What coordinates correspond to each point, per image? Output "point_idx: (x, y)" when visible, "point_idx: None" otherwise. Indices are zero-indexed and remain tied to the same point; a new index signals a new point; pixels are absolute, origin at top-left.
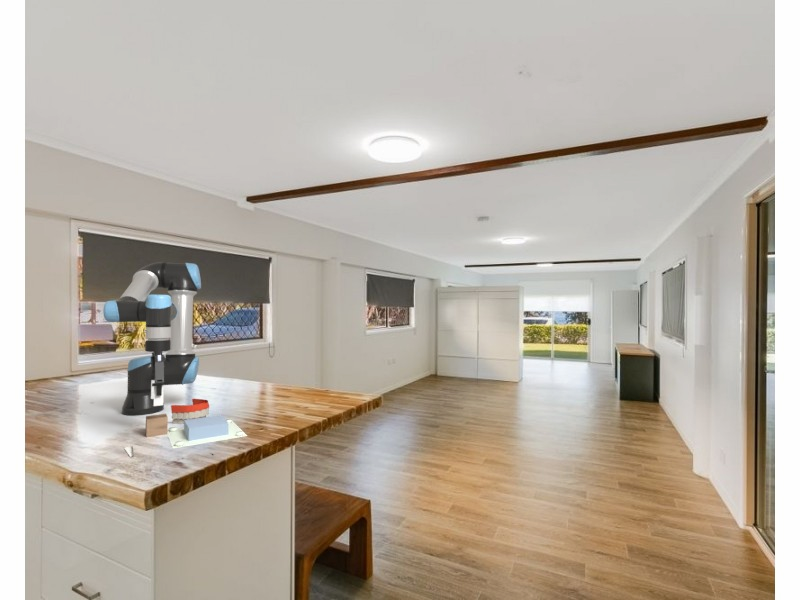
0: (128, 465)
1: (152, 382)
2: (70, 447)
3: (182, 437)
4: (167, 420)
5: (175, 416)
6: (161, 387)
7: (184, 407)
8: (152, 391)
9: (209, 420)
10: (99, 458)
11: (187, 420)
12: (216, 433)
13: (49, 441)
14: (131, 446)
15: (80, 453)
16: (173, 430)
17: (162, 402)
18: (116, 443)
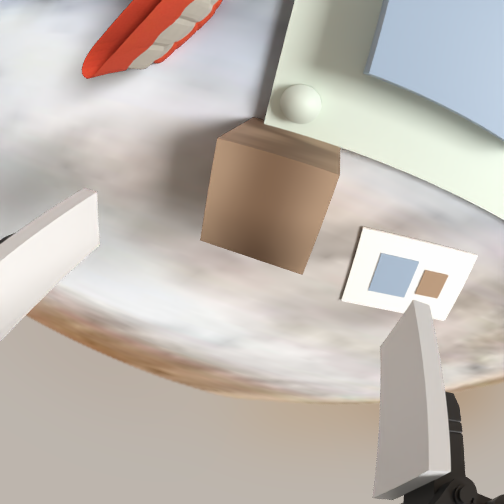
0: (492, 339)
1: (11, 322)
2: (204, 354)
3: (456, 134)
4: (338, 168)
5: (154, 53)
6: (462, 466)
7: (163, 6)
8: (61, 269)
9: (497, 3)
10: (373, 359)
11: (398, 66)
12: None
13: (123, 348)
14: (348, 283)
15: (281, 364)
16: (320, 109)
17: (429, 326)
18: (255, 289)
